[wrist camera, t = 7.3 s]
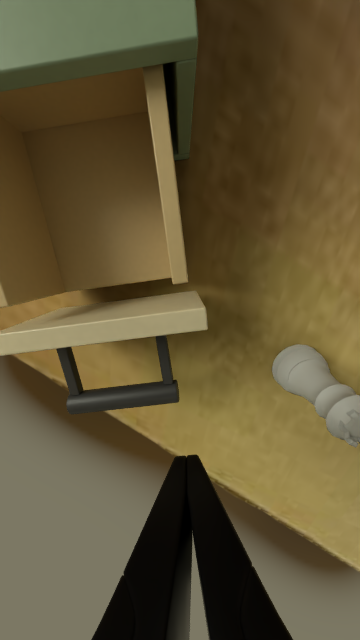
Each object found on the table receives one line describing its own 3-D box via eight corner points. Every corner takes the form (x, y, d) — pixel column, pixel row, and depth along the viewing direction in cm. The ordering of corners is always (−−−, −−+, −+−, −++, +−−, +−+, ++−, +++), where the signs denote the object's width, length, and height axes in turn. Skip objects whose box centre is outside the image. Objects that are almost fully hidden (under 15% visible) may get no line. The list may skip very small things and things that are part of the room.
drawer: (204, 360, 19) (217, 414, 12) (78, 375, 19) (25, 435, 13) (175, 104, 14) (170, -39, 7) (8, 132, 14) (-138, 20, 8)
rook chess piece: (293, 393, 21) (361, 472, 13) (259, 368, 20) (310, 436, 12) (328, 360, 20) (424, 424, 12) (294, 332, 19) (372, 381, 11)
